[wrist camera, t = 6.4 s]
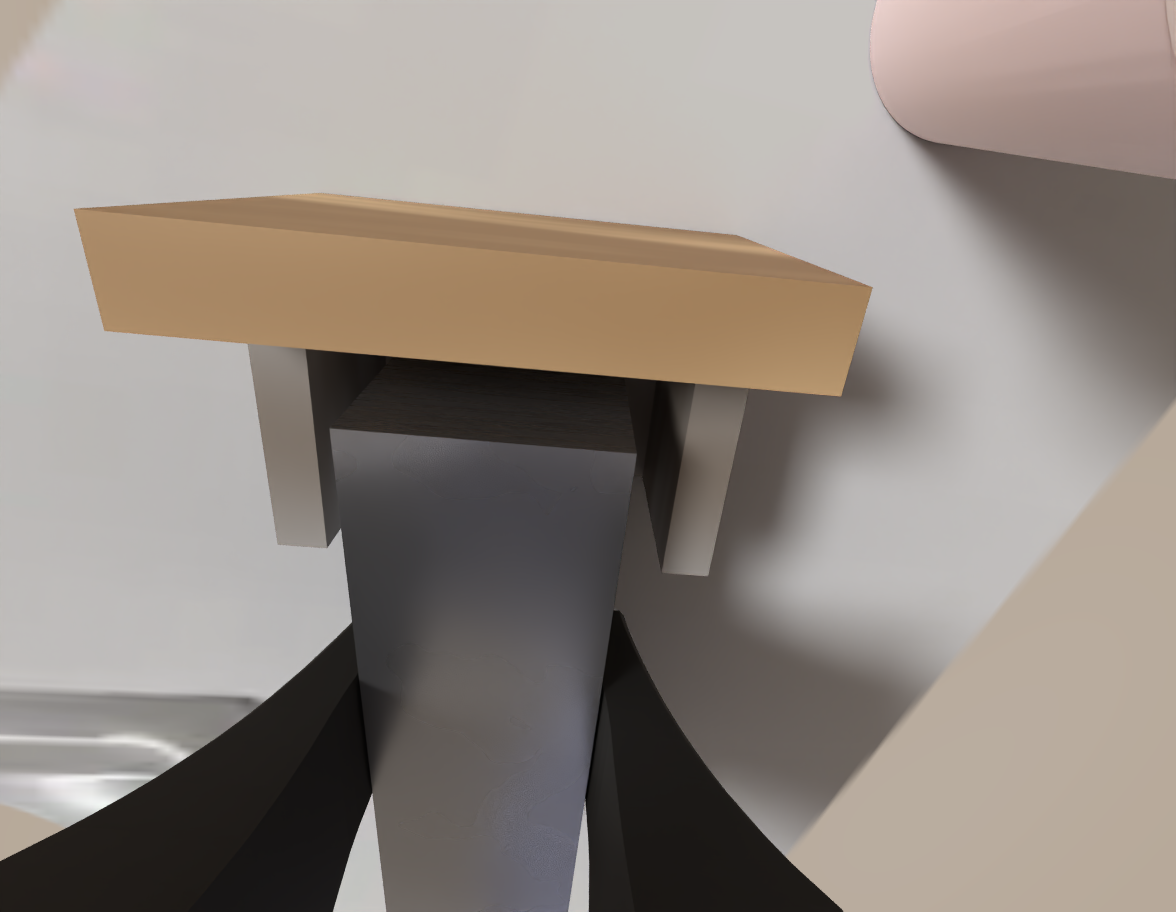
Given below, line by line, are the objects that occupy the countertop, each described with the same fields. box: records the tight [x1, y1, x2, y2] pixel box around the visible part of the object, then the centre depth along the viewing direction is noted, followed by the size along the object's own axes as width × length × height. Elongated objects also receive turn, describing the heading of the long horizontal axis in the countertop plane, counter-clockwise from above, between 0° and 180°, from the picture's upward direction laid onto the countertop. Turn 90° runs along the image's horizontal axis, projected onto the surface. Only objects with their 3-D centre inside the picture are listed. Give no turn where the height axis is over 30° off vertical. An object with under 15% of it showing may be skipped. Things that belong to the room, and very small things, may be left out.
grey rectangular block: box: [329, 357, 637, 912], centre depth 12 cm, size 12×4×5 cm, turn 175°
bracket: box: [74, 193, 873, 576], centre depth 10 cm, size 5×8×6 cm, turn 85°
